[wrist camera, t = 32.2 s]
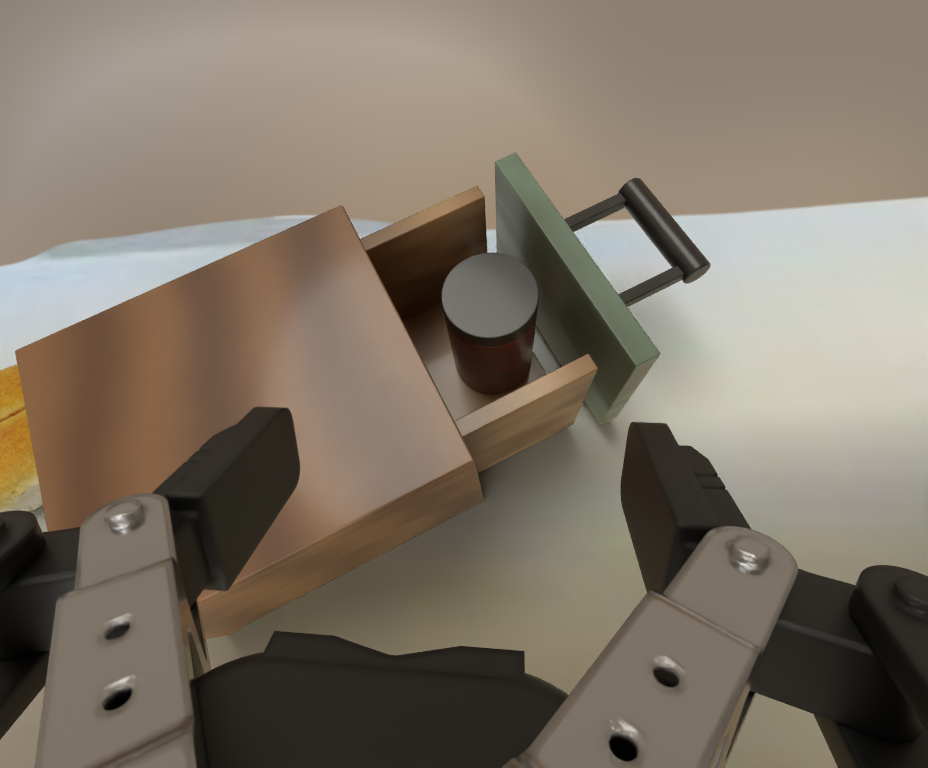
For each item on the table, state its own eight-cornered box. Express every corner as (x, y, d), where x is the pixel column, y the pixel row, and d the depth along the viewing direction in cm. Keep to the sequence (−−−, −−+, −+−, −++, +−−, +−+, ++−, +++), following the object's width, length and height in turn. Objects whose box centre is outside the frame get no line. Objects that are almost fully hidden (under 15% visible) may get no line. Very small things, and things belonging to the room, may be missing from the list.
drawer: (588, 219, 34) (615, 106, 26) (702, 372, 30) (776, 294, 22) (308, 352, 32) (241, 275, 24) (386, 536, 28) (338, 519, 20)
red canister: (531, 325, 30) (539, 252, 24) (530, 395, 29) (539, 339, 22) (457, 324, 31) (444, 251, 24) (453, 393, 29) (437, 337, 22)
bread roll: (87, 351, 34) (36, 323, 31) (128, 462, 31) (78, 446, 28) (-33, 415, 33) (-101, 395, 30) (-2, 537, 30) (-73, 531, 27)
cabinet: (389, 313, 34) (341, 204, 24) (484, 500, 29) (474, 460, 19) (164, 420, 32) (13, 350, 22) (226, 635, 28) (70, 668, 18)
